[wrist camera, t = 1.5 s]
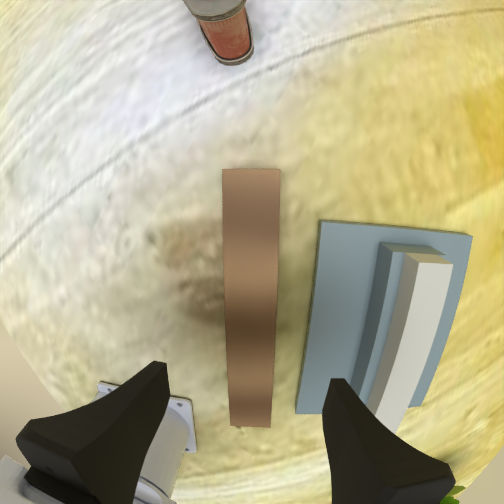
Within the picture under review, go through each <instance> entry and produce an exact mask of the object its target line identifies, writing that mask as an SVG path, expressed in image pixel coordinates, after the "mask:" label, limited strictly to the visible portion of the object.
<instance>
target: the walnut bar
mask: <svg viewBox="0 0 504 504" xmlns="http://www.w3.org/2000/svg"><path fill="white" fill-rule="evenodd" d="M222 192H223V261H224V298H225V327H226V352H227V373H228V393H229V411H230V426H243V427H266V428H270V425H271V410H272V393H273V375H274V356H275V335H276V312H277V285H278V253H279V210H280V169H222Z"/></svg>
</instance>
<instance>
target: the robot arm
mask: <svg viewBox="0 0 504 504" xmlns="http://www.w3.org/2000/svg"><path fill="white" fill-rule="evenodd" d="M97 387H98V391H99V392H98V393H97V395H96V396H95V397H94V399H93V400H92V402H91V403H90V404H87V405H85V406H82V407H80V408H77V409H75V410H72V411H69V412H66V413H63V414H59V415H55V416H50V417H45V418H38V419H31V420H30V421H29V422H28V423H27V424H26V426H25V427H24V428H23V429H22V431H21V432H20V433H19V434H18V436H17V437H16V443H17V446H18V447H19V449H20V451H21V452H22V454H23V455H24V456H25V458H26V459H27V461H28V462H29V463H30V465H31V467H30V469H29V470H27V469H26V468H25V467H24V466H22V465H21V464H19V463H18V462H16V461H15V460H13V459H12V458H10V457H8V456H7V455H5V456H4V457H3V458H2V460H1V461H0V504H177V503H176V502H174V501H172V500H171V499H170V498H171V495H172V491H173V488H174V485H175V481H176V478H177V475H178V471H179V468H180V465H181V461H182V458H183V455H184V452H189V453H196V451H197V445H196V437H195V429H194V420H193V412H192V403H191V402H190V401H189V400H187V399H182V398H175V397H170V389H169V381H168V373H167V364H166V363H163V362H158V361H153V362H151V363H150V364H149V365H147V366H146V367H145V368H144V369H142V370H141V371H140V372H138V373H137V374H136V375H135V376H133V377H132V378H131V379H129V380H128V381H126V382H125V383H124V384H122V385H121V386H115V385H111V384H107V383H103V382H99V383H98V385H97ZM180 403H182V404H180ZM322 420H323V432H324V437H325V443H326V448H327V453H328V459H329V464H330V471H331V483H332V504H440V503H439V502H440V501H441V500H442V499H443V498H444V497H445V496H446V495H447V494H448V493H449V492H450V491H451V490H452V488H453V487H454V485H455V482H456V481H455V478H454V476H453V473H452V471H451V469H450V467H449V465H448V464H447V463H444V462H442V461H439V460H437V459H435V458H432V457H430V456H428V455H426V454H424V453H422V452H420V451H419V450H417V449H415V448H414V447H412V446H410V445H409V444H407V443H406V442H404V441H403V440H402V439H400V438H399V437H397V436H396V435H395V434H394V433H393V432H391V431H390V430H389V429H388V428H387V427H386V426H384V425H383V424H382V423H381V422H380V421H379V420H378V419H377V418H376V417H375V416H374V414H373V413H372V412H371V411H370V410H369V409H368V408H367V406H366V405H365V404H364V403H363V402H362V400H361V399H360V398H359V397H358V395H357V394H356V393H355V391H354V390H353V389H352V388H351V386H350V385H349V384H348V382H347V381H346V380H345V378H331V380H330V383H329V387H328V391H327V395H326V398H325V402H324V405H323V409H322Z"/></svg>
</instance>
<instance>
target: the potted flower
mask: <svg viewBox="0 0 504 504" xmlns="http://www.w3.org/2000/svg"><path fill="white" fill-rule="evenodd" d="M464 489H465V487H464V486H454V487H453V488H452V490H451V491H450V492H449V493H448V494H447V495H446V496H445V497H444V498H443V499H442V500H441V501H440V502H439V503H440V504H459V501H458V500H456V499H454V498H453V497H452V495H454V494H457V493H459V492H460V491H462V490H464Z"/></svg>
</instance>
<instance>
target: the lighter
mask: <svg viewBox="0 0 504 504" xmlns="http://www.w3.org/2000/svg"><path fill="white" fill-rule="evenodd" d="M183 1H184V3H185V4H186V6H187V7H188V9H189V10H190V12H191V13H192V15H193V16H194V17H195V18H196V20H197V23H198V25H199V28H200V30H201V32H202V35H203V37H204V39H205V41H206V43H207V45H208V46H209V48H210V49H211V51H212V53H213V54H214V56H215V58H216V59H217V60H218V61H219V62H220V63H221V64H224V65H228V66H235V65H240V64H242V63H244V62H246V61H247V60H248V59H250V58H251V56H252V54H253V51H254V46H253V38H252V30H251V25H250V21H249V18H248V14H247V11H246V8H245V2H246V0H183Z"/></svg>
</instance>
